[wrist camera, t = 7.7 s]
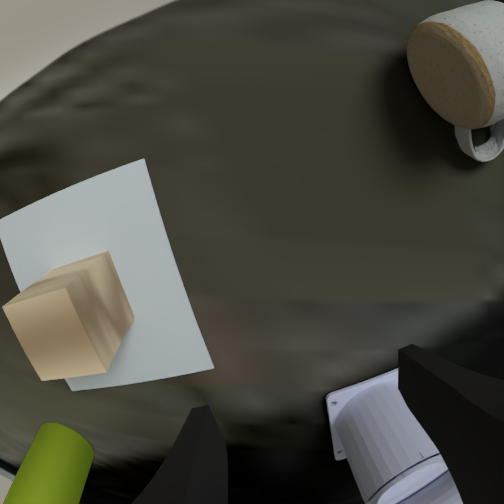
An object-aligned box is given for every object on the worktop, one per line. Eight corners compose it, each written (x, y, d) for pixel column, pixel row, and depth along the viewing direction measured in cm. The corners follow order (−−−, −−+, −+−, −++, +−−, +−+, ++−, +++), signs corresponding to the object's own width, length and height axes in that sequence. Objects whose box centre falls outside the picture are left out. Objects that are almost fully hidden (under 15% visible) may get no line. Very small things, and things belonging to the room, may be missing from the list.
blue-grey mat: (214, 367, 20) (214, 368, 20) (72, 390, 20) (72, 390, 20) (144, 158, 17) (144, 158, 16) (-4, 221, 16) (-5, 221, 16)
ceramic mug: (380, 41, 16) (451, 0, 8) (450, 15, 15) (517, -12, 8) (450, 180, 19) (532, 198, 11) (506, 136, 18) (578, 142, 11)
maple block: (134, 316, 19) (106, 372, 13) (79, 329, 19) (41, 380, 13) (108, 250, 18) (65, 287, 12) (52, 268, 18) (2, 306, 12)
